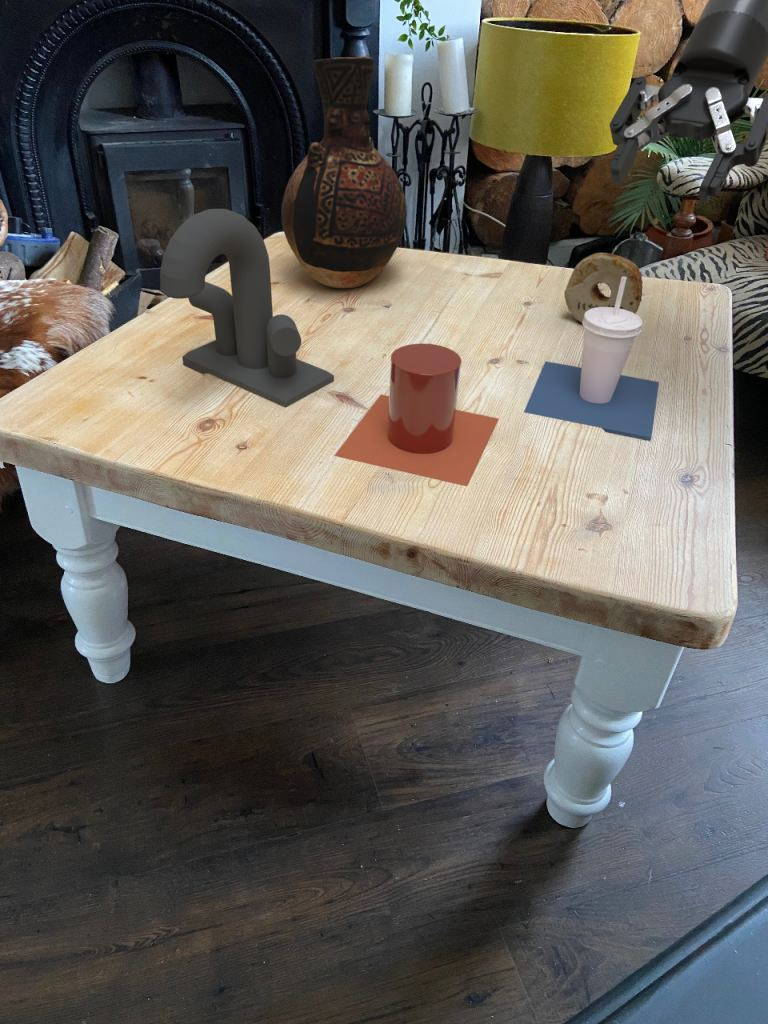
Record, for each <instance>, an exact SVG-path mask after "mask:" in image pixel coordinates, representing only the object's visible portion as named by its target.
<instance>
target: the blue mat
mask: <svg viewBox="0 0 768 1024" xmlns="http://www.w3.org/2000/svg"><path fill="white" fill-rule="evenodd" d="M580 380H581V366H573V365H569V364H563V363H557V362H552V361H548V360H547V361H544V364H543V365H542V368H541V370H540V373H539V375H538V377H537V380H536V382H535V384H534V387H533V390H532V392H531V394H530V396H529V399H528V401H527V404H526V406H525V407H524V410H523V413H525V414H529V415H530V414H531V415H535V416H540V417H544V418H550V419H554V420H559V421H565V422H569V423H574V424H580V425H584V426H589V427H595V428H600V429H602V430H603V431H604V432H606V433H610V434H617V435H619V436H620V435H621V436H624V437H625V436H627V437H631V438H635V439H641V440H646V441H652V436H653V429H654V419H655V413H656V407H657V399H658V392H659V384H660V382H659V381H655V380H650V379H645V378H639V377H635V376H628V375H623V374H621V375H620V378H619V380H618V383H617V385H616V388H615V390H614V393H613V396H612V398H611V400H610V401H609V402H607V403H592V402H588V401H586V400H584V399H583V398H581V397H580V394H579V393H580Z"/></svg>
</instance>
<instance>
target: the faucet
mask: <svg viewBox="0 0 768 1024" xmlns="http://www.w3.org/2000/svg"><path fill="white" fill-rule="evenodd" d="M220 255H224V256H225V257H226V259H227V261H228V265H229V266H228V267H229V278H230V288H231V293H230V292H229V291H228V290H226V289H225V288H223V287H220V286H219V285H216V284H213V283H210V282H208V281H206V277H207V273H208V270H209V268H210V266H211V264H212V263H213V261H214V260H215V259H216V258H217V257H219V256H220ZM159 280H160V281H159V284H160V285H159V287H160V288H159V290H160V293H162V294H163V295H164V296H166V297H168V298H171V299H179V300H180V299H181V300H183V299H187V300H188V301H189V304H190V305H191V306H192V307H194V308H197V309H199V310H201V311H203V312H205V313H209V314H211V316H212V319H213V329H214V337H215V339H214V340H212V341H210V342H207V343H205V344H203V345H200V346H198V347H196V348H194V349H192V350H189V351H187V352H186V353H185V354H183V355H182V357H181V359H182V365H183V366H185V367H187V368H189V369H192V370H194V371H196V372H198V373H201V374H203V375H207V374H209V375H211V376H213V377H214V378H218V379H220V380H222V381H225V382H227V383H229V384H231V385H233V386H235V387H238V388H240V389H243V390H245V391H247V392H249V393H252V394H254V395H256V396H258V397H259V398H260V397H261V398H263V399H265V400H267V401H269V402H272V403H274V404H276V405H279V406H281V407H283V408H285V409H286V408H288V407H290V406H292V405H294V404H296V403H297V402H299V401H300V400H302V399H305V398H307V397H309V396H310V395H312V394H314V393H316V392H317V391H319V390H321V389H323V388H324V387H326V386H329V385H330V384H332V383H334V382H335V375H334V374H333V373H332V372H330V371H328V370H326V369H323V368H321V367H319V366H316V365H314V364H311V363H309V362H306V361H303V360H301V359H298V358H297V352H299V350H300V348H301V346H302V337H301V334H300V332H299V330H298V327H297V324H296V323H295V320H294V319H292V318H291V316H288V315H287V314H281V313H280V314H275V315H274V312H273V311H274V310H273V295H272V279H271V266H270V255H269V252H268V249H267V246H266V243H265V240H264V238H263V237H262V235H261V233H260V232H259V231H258V229H257V227H256V226H255V225H254V224H253V223H252V222H251V221H249V219H247V218H246V217H245V216H244V215H242V214H240V213H238V212H235V211H233V210H230V209H227V208H208V209H205V210H203V211H200V212H198V213H194V214H193V215H192V216H190V217H189V218H188V219H187V220H185V221H184V222H183V223H182V224H181V225H180V226H179V227H178V228H177V229H176V231H175V232H174V233H173V235H172V236H171V238H170V239H169V242H168V244H167V246H166V248H165V250H164V253H163V256H162V261H161V266H160V271H159Z"/></svg>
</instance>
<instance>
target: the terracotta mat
mask: <svg viewBox="0 0 768 1024" xmlns="http://www.w3.org/2000/svg"><path fill="white" fill-rule="evenodd" d="M388 411H389V395H386V394H381V393H380V395H379V396H378V397H377V399H376V400H375V401H374V403H373V404H372V405H371V407H370V408H369V409H368V411H366V413H365V415H364V416H363V417H362V419H361V420H360V421H359V422H358V423H357V425H356V426H355V427H354V428H353V430H352V432H351V433H350V434H349V435H348V437H347V438H345V440H344V442H343V443H342V444H341V446H340V447H339V448H338V450H337V451H336V452H335V453H334V454H333V456H334V457H337V458H342V459H345V460H350V461H355V462H359V463H364V464H368V465H372V466H375V467H381V468H385V469H389V470H394V471H398V472H403V473H407V474H411V475H416V476H420V477H424V478H429V479H432V480H436V481H442V482H444V483H445V482H446V483H450V484H454V485H459V486H463V487H468V486H469V483H470V481H471V480H472V478H473V476H474V473H475V472H476V469H477V467H478V465H479V463H480V460H481V459H482V456H483V454H484V452H485V450H486V447H487V446H488V443H489V441H490V440H491V437H492V435H493V432H494V430H495V428H496V426H497V424H498V422H499V419H500V418H499V417H493V416H488V415H483V414H479V413H474V412H469V411H465V410H459V409H456V416H455V426H454V435H453V441H452V443H451V445H450V446H449V447H447V448H446V449H444V450H442V451H439V452H436V453H430V454H417V453H410V452H407V451H404V450H401V449H399V448H397V447H395V446H394V445H393V444H392V443H391V442H390V441H389V439H388Z"/></svg>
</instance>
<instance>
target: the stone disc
mask: <svg viewBox="0 0 768 1024" xmlns="http://www.w3.org/2000/svg"><path fill="white" fill-rule="evenodd" d="M621 277H627V279H626V283H625V287H624V292H623V296H622V300H621V304H620V309H624V310H627V311H630V312H632V313H634V314H636V315H637V313H638V311H639V308H640V305H641V303H642V299H643V298H642V297H643V288H644V287H643V285H644V284H643V283H644V282H643V281H644V280H643V276H642V272H641V271H640V268H639V266H638V265H637V264H636V263H635V262H633V261H632V260H630V259H629V258H626V257H623V256H621V255H617V254H613V253H608V252H596V253H593V254H590V255H588V256H586V257H584V258H582V259H581V260H580V261H579V262H578V263H577V264H576V266H575V267H574V268H573V271H572V272H571V275H570V276H569V280H568V281H567V284H566V286H565V290H564V301H565V304H566V307H567V309H568V311H569V312H570V314H571V316H572V317H573V318H574V319H575V320H577V321H578V322H580V323H582V321H583V319H584V314H585V312H586V311H588V310H590V309H592V308H597V307H613V308H614V307H615V303H616V299H617V294H618V290H619V286H620V281H621ZM599 284H605V285H607V286H608V288H609V290H610V295H609V296H606V295H605V294H604V293H603V292H602V291H601V289H600V287H599Z"/></svg>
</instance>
